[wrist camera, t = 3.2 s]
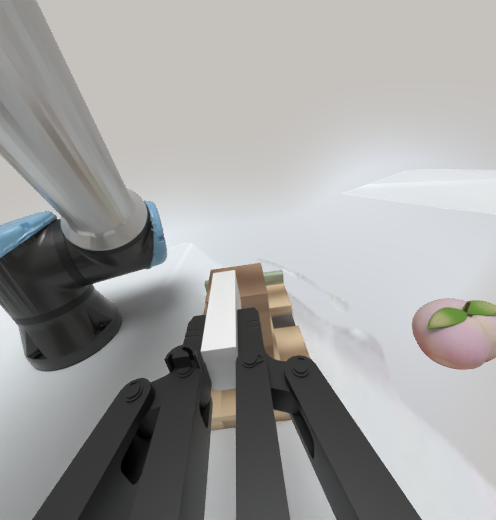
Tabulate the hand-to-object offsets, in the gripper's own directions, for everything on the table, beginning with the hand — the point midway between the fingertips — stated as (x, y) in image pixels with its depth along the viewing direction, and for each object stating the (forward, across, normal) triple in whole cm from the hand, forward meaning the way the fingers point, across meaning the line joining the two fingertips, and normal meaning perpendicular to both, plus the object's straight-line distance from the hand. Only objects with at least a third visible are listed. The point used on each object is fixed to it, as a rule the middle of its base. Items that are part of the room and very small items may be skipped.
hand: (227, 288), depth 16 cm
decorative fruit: (+7, +26, -21) cm, 34 cm away
